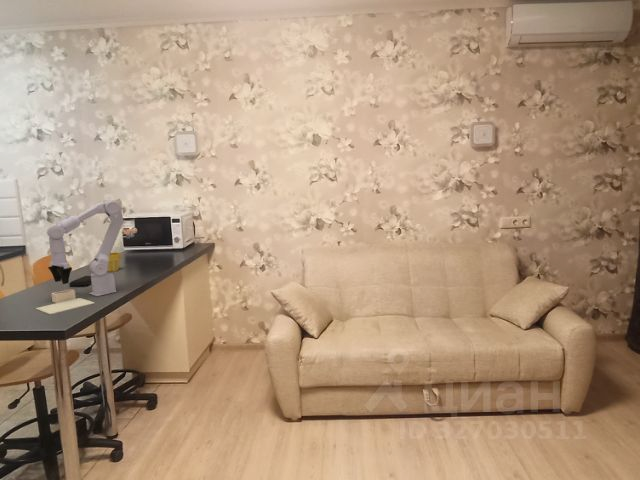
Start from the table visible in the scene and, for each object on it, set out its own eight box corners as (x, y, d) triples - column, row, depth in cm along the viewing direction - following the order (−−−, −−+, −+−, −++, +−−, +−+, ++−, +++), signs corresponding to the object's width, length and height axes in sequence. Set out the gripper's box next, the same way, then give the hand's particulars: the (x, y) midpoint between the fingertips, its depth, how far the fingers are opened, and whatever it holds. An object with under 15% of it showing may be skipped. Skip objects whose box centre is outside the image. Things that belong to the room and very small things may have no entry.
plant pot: (125, 268, 272) (123, 251, 271) (116, 272, 262) (114, 255, 260) (108, 268, 273) (107, 252, 272) (98, 272, 263) (97, 255, 261)
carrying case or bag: (83, 280, 246) (65, 288, 232) (82, 275, 246) (65, 282, 231) (102, 280, 245) (85, 287, 231) (101, 274, 245) (85, 281, 230)
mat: (79, 298, 210) (79, 297, 210) (94, 303, 201) (94, 302, 201) (36, 309, 196) (35, 308, 196) (50, 314, 187) (50, 313, 187)
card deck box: (71, 297, 213) (70, 288, 212) (75, 299, 210) (74, 290, 209) (52, 301, 207) (51, 292, 206) (56, 303, 204) (55, 294, 203)
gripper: (41, 252, 206) (45, 282, 208) (55, 255, 197) (59, 286, 199) (58, 249, 212) (61, 279, 214) (72, 252, 203) (76, 283, 205)
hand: (61, 282), depth 207 cm, fingers open, 7 cm apart
